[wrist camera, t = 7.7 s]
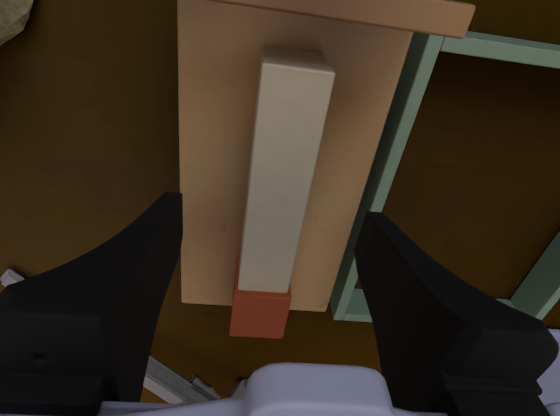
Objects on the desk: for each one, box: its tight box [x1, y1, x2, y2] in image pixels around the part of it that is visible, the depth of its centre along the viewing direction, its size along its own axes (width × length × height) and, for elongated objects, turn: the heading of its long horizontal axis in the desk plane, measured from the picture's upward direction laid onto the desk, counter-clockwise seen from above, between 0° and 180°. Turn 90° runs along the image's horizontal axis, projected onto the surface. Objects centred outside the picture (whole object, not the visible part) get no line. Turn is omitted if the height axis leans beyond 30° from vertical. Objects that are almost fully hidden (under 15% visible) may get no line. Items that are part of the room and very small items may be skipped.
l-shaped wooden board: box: [177, 0, 475, 312], centre depth 16 cm, size 8×16×6 cm, turn 172°
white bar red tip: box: [229, 45, 335, 339], centre depth 15 cm, size 2×12×3 cm, turn 172°
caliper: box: [0, 269, 248, 404], centre depth 24 cm, size 20×1×6 cm, turn 46°
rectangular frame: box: [330, 31, 560, 322], centre depth 20 cm, size 13×16×2 cm
